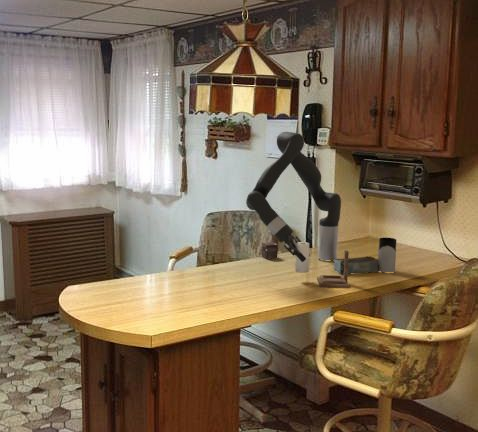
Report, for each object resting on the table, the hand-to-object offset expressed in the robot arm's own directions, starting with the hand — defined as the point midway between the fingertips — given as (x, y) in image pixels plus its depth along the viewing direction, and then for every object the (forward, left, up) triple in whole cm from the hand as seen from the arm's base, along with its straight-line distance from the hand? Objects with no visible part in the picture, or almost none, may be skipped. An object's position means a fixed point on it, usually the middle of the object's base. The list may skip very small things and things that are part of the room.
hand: (306, 258), depth 247 cm
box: (-43, -14, -10) cm, 47 cm away
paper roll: (-1, -2, -6) cm, 6 cm away
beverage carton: (-19, +25, -11) cm, 33 cm away
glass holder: (-23, +39, -10) cm, 47 cm away
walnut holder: (+2, +11, -10) cm, 15 cm away
